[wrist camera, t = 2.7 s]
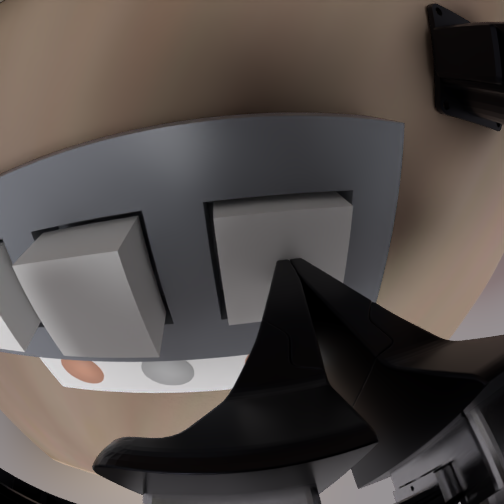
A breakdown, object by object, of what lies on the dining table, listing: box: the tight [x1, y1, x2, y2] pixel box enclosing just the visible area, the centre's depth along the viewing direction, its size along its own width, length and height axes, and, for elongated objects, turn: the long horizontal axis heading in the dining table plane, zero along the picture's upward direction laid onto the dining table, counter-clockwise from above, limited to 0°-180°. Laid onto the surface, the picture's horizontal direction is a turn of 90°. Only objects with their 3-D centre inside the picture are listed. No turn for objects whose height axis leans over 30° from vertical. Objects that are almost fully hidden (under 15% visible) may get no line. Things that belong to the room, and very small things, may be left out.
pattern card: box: [40, 354, 249, 393], centre depth 17 cm, size 22×6×1 cm, turn 93°
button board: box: [0, 112, 404, 362], centre depth 11 cm, size 23×10×3 cm, turn 93°
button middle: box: [12, 216, 166, 358], centre depth 9 cm, size 4×4×2 cm
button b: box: [213, 191, 353, 325], centre depth 10 cm, size 4×4×2 cm
